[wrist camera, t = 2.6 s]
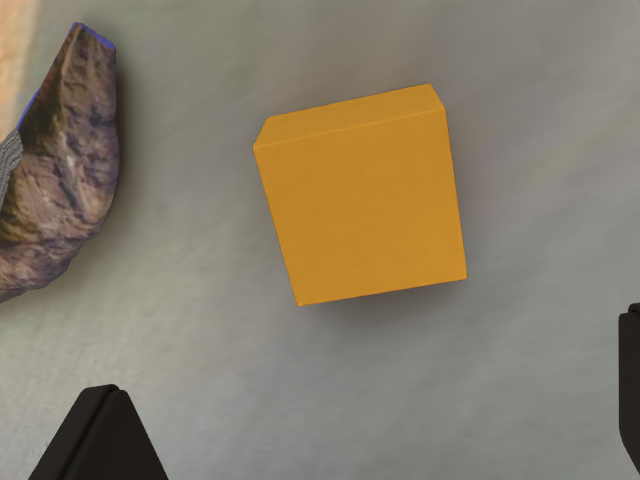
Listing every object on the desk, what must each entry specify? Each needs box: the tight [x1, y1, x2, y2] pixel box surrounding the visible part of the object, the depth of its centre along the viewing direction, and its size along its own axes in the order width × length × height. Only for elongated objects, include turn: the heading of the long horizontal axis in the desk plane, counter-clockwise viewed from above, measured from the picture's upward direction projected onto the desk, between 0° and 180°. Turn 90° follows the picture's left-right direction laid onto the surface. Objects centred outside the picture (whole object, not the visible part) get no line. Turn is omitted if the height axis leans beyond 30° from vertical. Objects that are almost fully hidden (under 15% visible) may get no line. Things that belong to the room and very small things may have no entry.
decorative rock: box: [0, 22, 119, 304], centre depth 25 cm, size 16×2×5 cm
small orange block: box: [253, 83, 468, 306], centre depth 23 cm, size 7×7×4 cm
